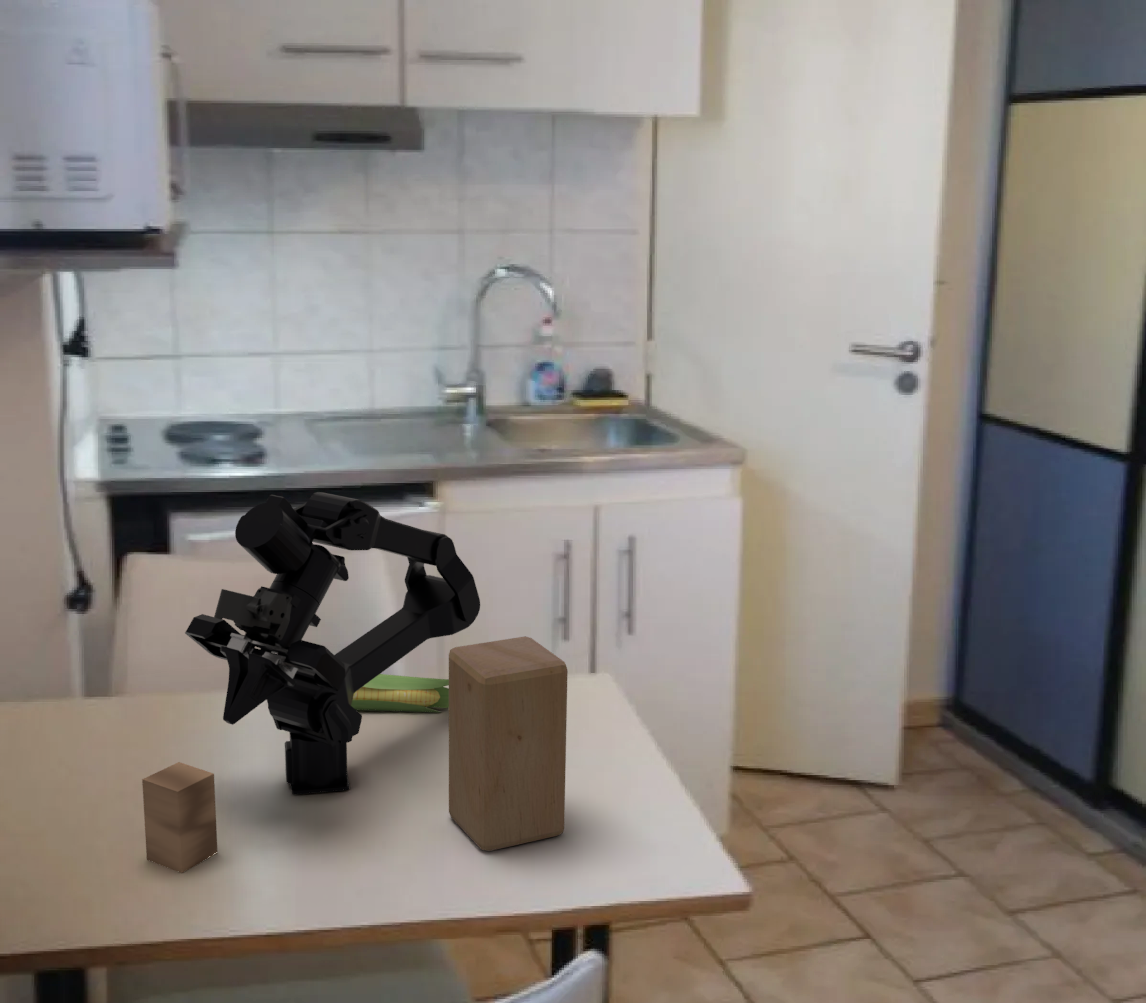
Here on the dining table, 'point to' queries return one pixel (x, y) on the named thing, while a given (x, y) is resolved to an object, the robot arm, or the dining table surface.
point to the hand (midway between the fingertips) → (227, 722)
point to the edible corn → (402, 694)
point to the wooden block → (507, 741)
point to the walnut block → (180, 816)
